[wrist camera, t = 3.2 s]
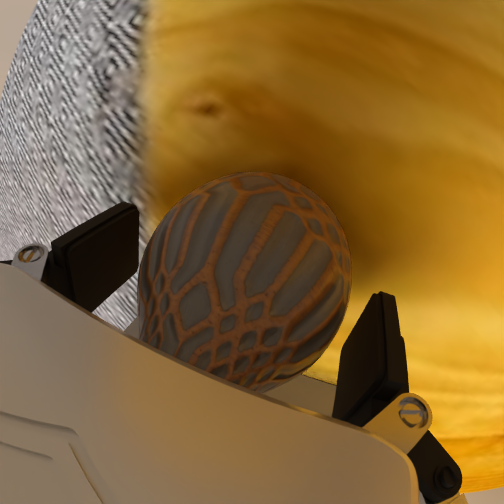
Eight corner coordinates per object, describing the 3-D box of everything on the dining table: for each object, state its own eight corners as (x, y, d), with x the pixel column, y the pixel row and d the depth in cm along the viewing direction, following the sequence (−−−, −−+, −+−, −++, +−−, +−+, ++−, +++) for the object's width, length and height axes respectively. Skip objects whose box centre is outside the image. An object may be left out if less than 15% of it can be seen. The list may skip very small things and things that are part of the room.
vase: (179, 203, 14) (36, 308, 7) (302, 126, 11) (185, 177, 3) (254, 312, 16) (178, 455, 8) (377, 269, 12) (375, 459, 5)
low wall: (144, 309, 19) (99, 358, 15) (345, 388, 16) (332, 457, 12) (144, 321, 19) (102, 369, 15) (337, 397, 17) (323, 463, 13)
